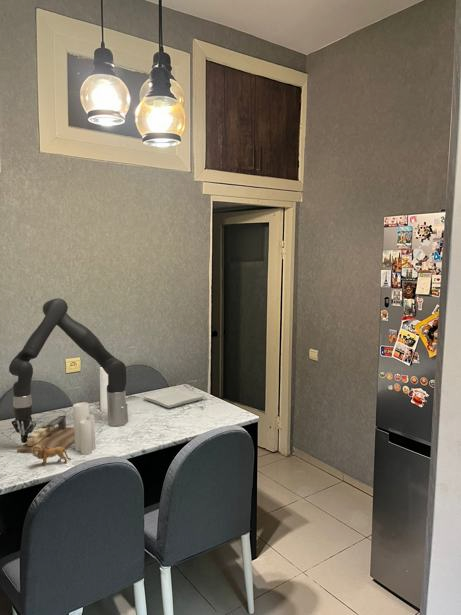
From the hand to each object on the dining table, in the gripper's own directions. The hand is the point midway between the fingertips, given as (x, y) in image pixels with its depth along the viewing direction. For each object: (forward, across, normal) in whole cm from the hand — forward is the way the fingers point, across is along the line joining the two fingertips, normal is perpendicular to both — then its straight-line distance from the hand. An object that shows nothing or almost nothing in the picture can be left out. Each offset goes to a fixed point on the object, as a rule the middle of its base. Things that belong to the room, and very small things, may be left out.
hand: (24, 442), depth 206 cm
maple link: (0, +2, +6) cm, 6 cm away
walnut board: (+2, +7, +11) cm, 13 cm away
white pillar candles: (+2, +28, +8) cm, 29 cm away
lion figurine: (+2, +24, -10) cm, 26 cm away
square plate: (+3, +28, +86) cm, 90 cm away
